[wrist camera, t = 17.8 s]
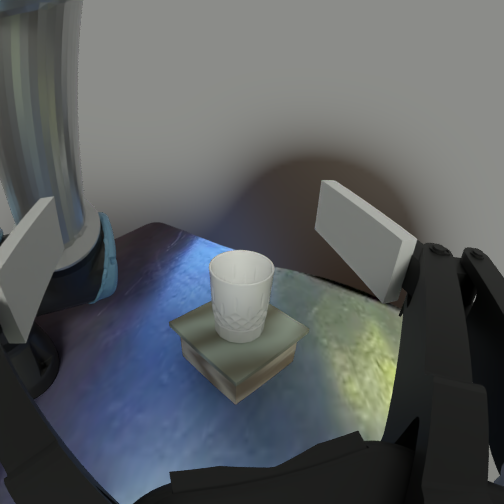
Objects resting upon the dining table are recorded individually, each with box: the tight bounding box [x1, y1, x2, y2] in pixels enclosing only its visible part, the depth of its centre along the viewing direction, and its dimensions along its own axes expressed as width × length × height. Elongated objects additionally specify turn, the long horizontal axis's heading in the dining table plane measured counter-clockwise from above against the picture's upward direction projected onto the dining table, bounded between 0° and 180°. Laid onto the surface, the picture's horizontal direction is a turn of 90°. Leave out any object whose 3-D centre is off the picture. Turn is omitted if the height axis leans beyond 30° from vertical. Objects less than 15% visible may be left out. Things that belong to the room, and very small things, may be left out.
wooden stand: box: [169, 301, 309, 405], centre depth 46 cm, size 14×14×7 cm
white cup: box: [209, 250, 274, 344], centre depth 41 cm, size 8×8×10 cm
